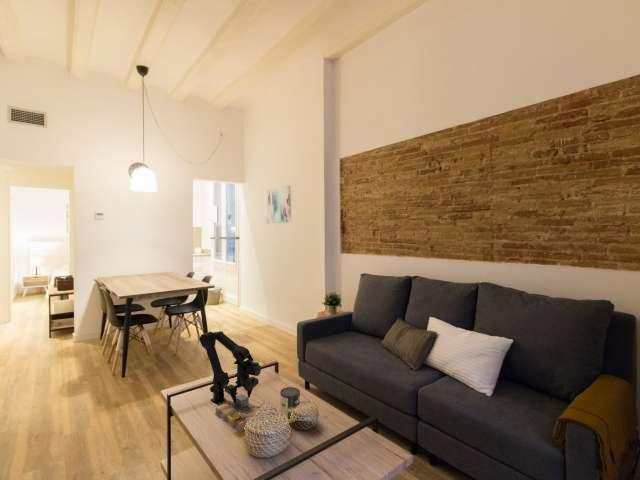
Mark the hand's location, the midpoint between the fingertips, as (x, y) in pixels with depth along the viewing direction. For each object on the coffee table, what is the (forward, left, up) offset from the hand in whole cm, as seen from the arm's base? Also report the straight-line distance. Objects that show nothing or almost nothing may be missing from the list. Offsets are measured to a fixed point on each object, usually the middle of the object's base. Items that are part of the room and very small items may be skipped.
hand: (241, 400), depth 189 cm
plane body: (+8, -11, -4) cm, 14 cm away
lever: (+14, -11, +2) cm, 18 cm away
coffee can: (+27, +11, -4) cm, 29 cm away
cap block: (0, 0, -3) cm, 3 cm away
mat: (0, 0, -4) cm, 4 cm away
